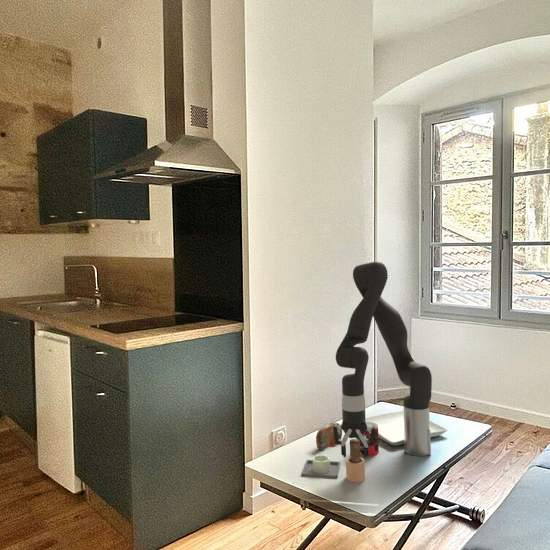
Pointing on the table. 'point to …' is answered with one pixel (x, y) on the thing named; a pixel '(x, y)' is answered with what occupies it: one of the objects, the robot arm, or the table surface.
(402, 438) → the square plate
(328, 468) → the holder
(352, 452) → the peg
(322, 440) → the tin
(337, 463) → the tray
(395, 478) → the table surface
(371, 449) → the canned food
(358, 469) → the cup
